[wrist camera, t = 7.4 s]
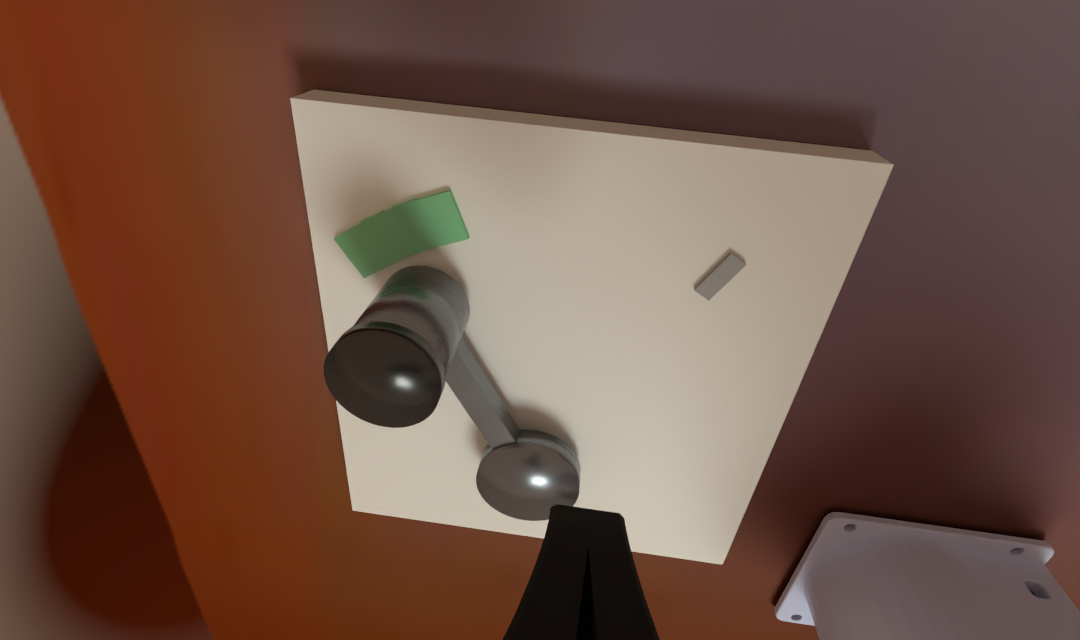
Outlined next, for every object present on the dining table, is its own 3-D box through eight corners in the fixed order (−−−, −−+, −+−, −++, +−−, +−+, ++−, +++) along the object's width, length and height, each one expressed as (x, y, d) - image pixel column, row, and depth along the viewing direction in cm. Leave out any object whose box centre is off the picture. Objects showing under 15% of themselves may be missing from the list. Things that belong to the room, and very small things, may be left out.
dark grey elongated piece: (596, 488, 22) (593, 585, 18) (509, 509, 23) (491, 604, 20) (452, 243, 17) (411, 312, 13) (351, 287, 18) (288, 360, 15)
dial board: (871, 150, 16) (896, 166, 15) (716, 535, 26) (723, 568, 24) (314, 89, 17) (287, 99, 16) (364, 485, 26) (350, 514, 25)
